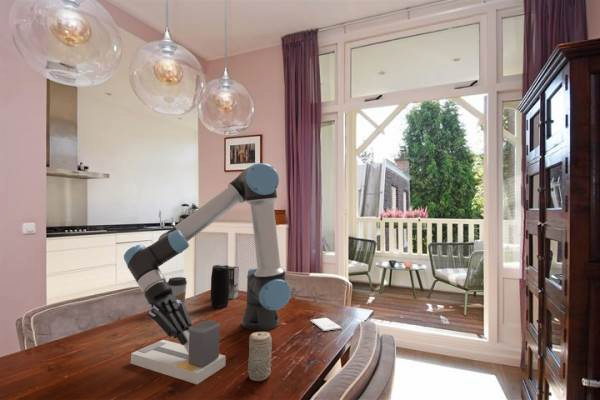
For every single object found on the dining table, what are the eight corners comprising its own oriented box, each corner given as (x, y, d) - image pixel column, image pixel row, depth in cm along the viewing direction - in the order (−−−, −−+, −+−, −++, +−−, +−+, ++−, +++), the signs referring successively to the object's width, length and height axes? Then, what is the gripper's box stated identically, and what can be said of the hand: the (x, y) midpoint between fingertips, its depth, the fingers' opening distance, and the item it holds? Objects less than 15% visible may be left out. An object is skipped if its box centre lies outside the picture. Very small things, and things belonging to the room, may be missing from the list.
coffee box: (238, 296, 179) (239, 266, 180) (233, 299, 173) (234, 268, 173) (222, 295, 181) (223, 265, 181) (217, 298, 174) (218, 267, 175)
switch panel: (130, 363, 99) (131, 352, 99) (162, 348, 110) (163, 339, 110) (196, 384, 88) (197, 372, 88) (225, 365, 98) (225, 355, 99)
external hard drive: (327, 321, 142) (342, 331, 131) (310, 323, 139) (324, 333, 128) (327, 317, 142) (342, 326, 131) (310, 319, 139) (324, 329, 128)
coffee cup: (179, 315, 144) (180, 281, 145) (162, 313, 146) (163, 280, 147) (189, 309, 153) (190, 277, 153) (173, 308, 154) (174, 276, 155)
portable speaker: (230, 304, 164) (231, 264, 164) (225, 309, 154) (226, 267, 155) (213, 303, 164) (215, 264, 165) (207, 308, 155) (209, 267, 156)
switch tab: (187, 363, 92) (189, 327, 93) (205, 353, 99) (206, 320, 99) (202, 367, 90) (203, 330, 90) (219, 357, 97) (220, 322, 97)
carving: (244, 382, 89) (245, 338, 89) (253, 369, 96) (253, 328, 97) (266, 385, 88) (267, 340, 88) (273, 372, 95) (274, 330, 96)
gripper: (165, 291, 111) (202, 351, 103) (131, 299, 99) (169, 368, 91) (177, 276, 109) (216, 337, 101) (144, 284, 97) (184, 353, 89)
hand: (193, 351), depth 96 cm, fingers closed
